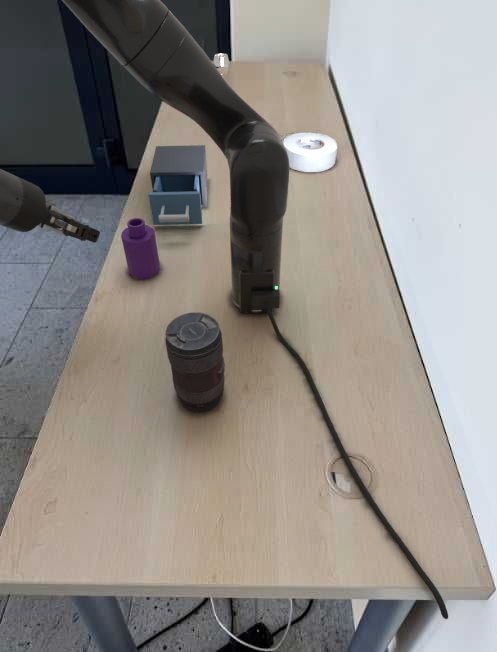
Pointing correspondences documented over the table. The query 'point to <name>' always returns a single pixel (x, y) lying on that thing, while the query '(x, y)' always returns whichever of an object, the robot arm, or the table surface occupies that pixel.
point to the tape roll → (310, 151)
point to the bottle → (140, 249)
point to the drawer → (176, 200)
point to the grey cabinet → (181, 164)
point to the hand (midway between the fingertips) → (87, 232)
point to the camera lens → (196, 360)
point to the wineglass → (221, 63)
